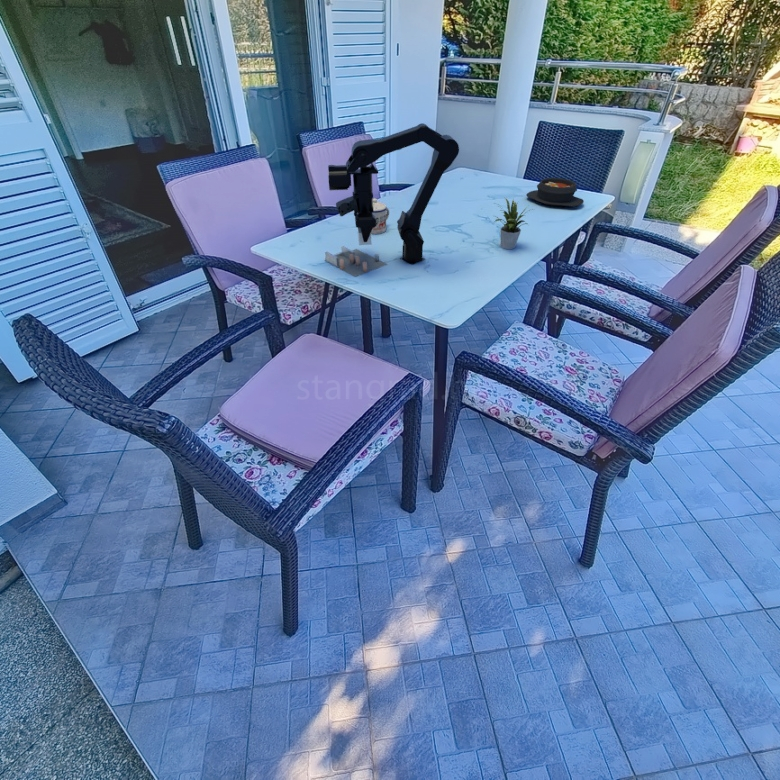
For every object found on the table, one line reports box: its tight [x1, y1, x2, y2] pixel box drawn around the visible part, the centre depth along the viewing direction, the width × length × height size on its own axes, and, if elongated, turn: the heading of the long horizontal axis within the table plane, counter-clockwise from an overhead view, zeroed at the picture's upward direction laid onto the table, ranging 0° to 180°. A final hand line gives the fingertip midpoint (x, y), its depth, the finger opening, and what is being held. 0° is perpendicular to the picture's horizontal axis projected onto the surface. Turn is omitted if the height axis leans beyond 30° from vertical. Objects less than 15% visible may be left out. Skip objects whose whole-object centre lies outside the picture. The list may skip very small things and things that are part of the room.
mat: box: [324, 248, 388, 278], centre depth 150 cm, size 17×14×1 cm
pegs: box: [339, 254, 380, 273], centre depth 147 cm, size 9×14×3 cm, turn 132°
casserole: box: [526, 177, 584, 207], centre depth 196 cm, size 25×19×8 cm
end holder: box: [324, 245, 355, 268], centre depth 150 cm, size 7×8×3 cm
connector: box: [357, 228, 372, 246], centre depth 144 cm, size 4×4×6 cm
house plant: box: [493, 197, 534, 250], centre depth 157 cm, size 14×14×16 cm
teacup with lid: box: [371, 198, 390, 235], centre depth 171 cm, size 12×9×12 cm
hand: (364, 239), depth 146 cm, fingers closed on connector, 4 cm apart
